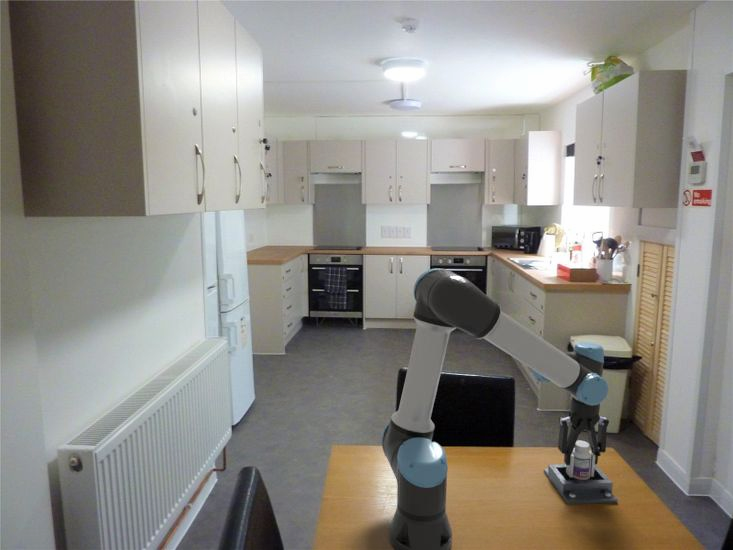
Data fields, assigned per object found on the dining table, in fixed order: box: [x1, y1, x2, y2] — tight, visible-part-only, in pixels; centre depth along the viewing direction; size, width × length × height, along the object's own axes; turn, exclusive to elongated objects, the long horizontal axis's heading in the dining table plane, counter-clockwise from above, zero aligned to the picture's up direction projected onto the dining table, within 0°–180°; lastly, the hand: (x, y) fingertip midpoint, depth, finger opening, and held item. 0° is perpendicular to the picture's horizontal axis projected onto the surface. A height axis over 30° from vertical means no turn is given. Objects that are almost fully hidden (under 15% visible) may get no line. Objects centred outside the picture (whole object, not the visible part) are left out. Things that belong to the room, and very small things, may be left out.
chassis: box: [543, 463, 619, 505], centre depth 144 cm, size 16×14×4 cm
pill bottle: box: [572, 439, 592, 480], centre depth 143 cm, size 5×5×10 cm
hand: (579, 474), depth 143 cm, fingers closed on pill bottle, 5 cm apart
